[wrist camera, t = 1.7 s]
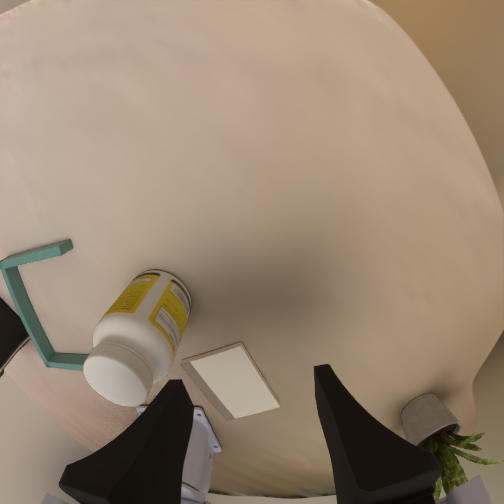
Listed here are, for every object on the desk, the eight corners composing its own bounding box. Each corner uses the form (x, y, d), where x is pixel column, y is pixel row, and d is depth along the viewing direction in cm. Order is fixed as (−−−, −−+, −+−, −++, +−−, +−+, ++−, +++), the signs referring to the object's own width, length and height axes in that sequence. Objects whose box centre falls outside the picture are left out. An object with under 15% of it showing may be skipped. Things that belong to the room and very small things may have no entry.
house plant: (338, 441, 29) (360, 549, 13) (397, 366, 24) (460, 496, 9) (416, 437, 30) (448, 519, 15) (472, 371, 25) (529, 456, 10)
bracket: (119, 361, 24) (112, 372, 23) (53, 357, 25) (46, 366, 23) (70, 239, 20) (58, 245, 19) (9, 255, 21) (-2, 262, 19)
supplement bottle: (124, 309, 22) (70, 385, 13) (140, 256, 21) (74, 326, 12) (180, 336, 23) (148, 425, 14) (203, 287, 22) (171, 376, 12)
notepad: (279, 402, 26) (280, 407, 25) (227, 416, 27) (226, 420, 26) (241, 341, 23) (241, 346, 23) (182, 360, 24) (180, 364, 23)
